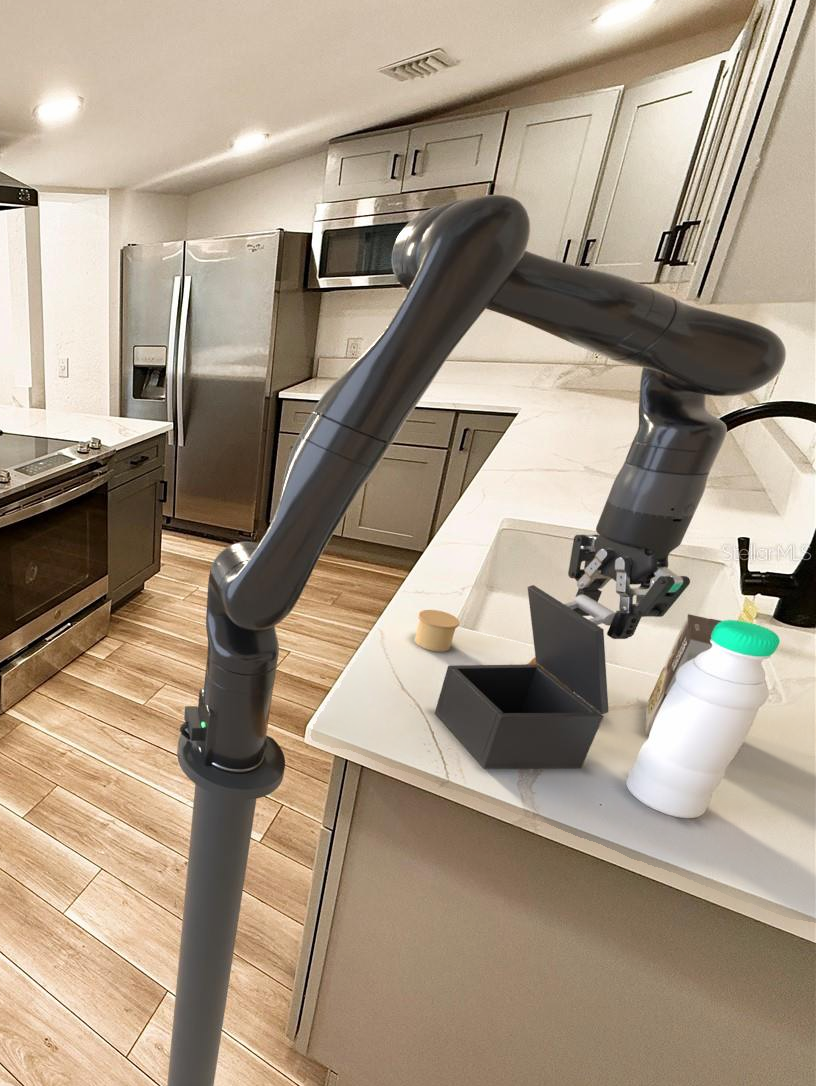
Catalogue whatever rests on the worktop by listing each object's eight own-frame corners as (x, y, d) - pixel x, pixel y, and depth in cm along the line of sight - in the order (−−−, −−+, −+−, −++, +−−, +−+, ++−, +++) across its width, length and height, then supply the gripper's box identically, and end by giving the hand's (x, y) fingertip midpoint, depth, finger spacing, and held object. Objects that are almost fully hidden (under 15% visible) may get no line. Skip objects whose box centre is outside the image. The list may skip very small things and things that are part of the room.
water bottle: (700, 795, 77) (793, 624, 67) (705, 831, 72) (806, 653, 62) (623, 769, 81) (700, 606, 71) (624, 801, 77) (705, 631, 66)
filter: (424, 653, 108) (430, 627, 105) (405, 634, 113) (412, 610, 111) (459, 652, 107) (467, 626, 105) (439, 634, 113) (446, 609, 110)
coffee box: (709, 755, 83) (762, 656, 76) (643, 734, 87) (689, 638, 80) (706, 721, 89) (755, 626, 82) (644, 703, 93) (687, 611, 86)
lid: (596, 631, 73) (642, 617, 72) (527, 586, 84) (567, 574, 83) (601, 714, 78) (645, 702, 77) (535, 662, 89) (573, 651, 88)
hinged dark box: (483, 768, 83) (501, 717, 79) (434, 713, 93) (448, 665, 90) (581, 768, 82) (604, 716, 78) (520, 712, 92) (537, 664, 89)
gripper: (570, 484, 79) (529, 599, 86) (673, 525, 66) (615, 657, 73) (631, 483, 79) (584, 599, 86) (747, 524, 66) (681, 657, 73)
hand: (599, 625), depth 79 cm, fingers closed on lid, 5 cm apart
